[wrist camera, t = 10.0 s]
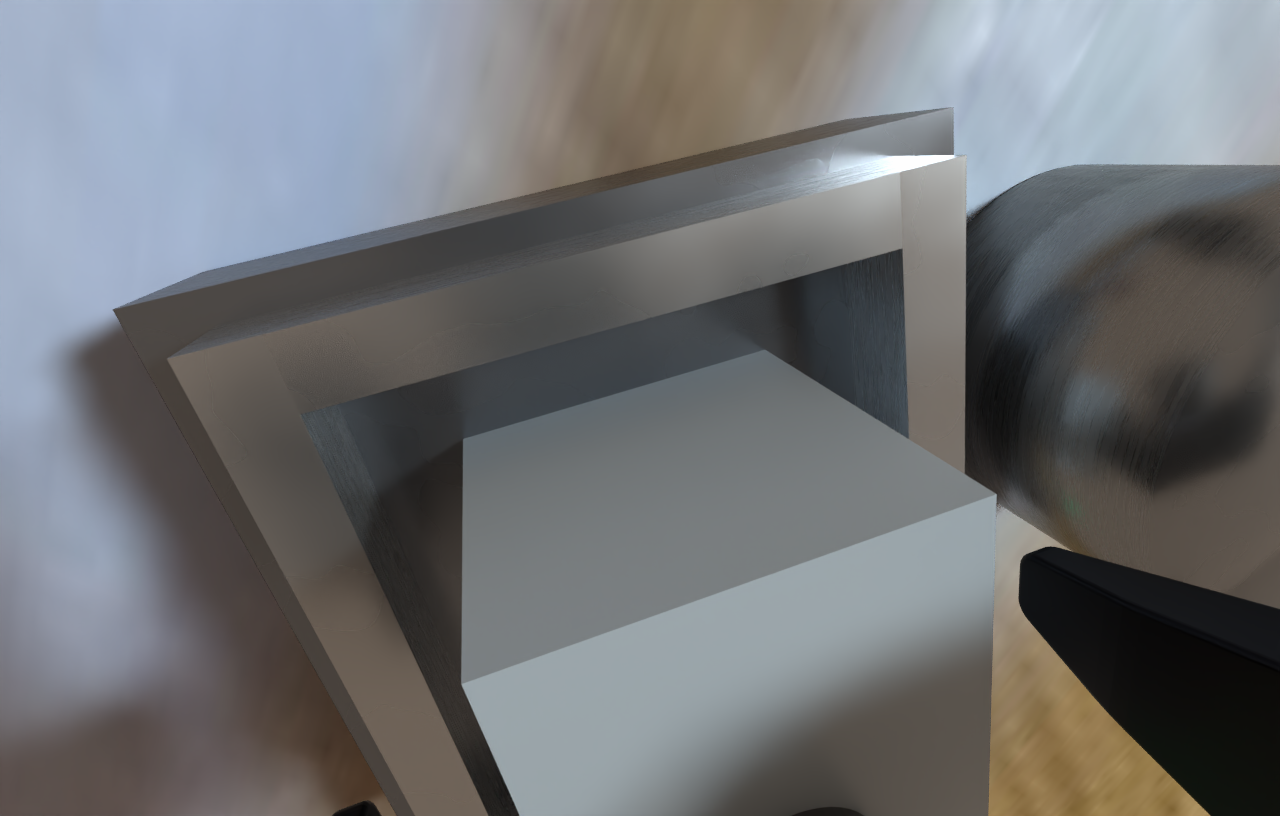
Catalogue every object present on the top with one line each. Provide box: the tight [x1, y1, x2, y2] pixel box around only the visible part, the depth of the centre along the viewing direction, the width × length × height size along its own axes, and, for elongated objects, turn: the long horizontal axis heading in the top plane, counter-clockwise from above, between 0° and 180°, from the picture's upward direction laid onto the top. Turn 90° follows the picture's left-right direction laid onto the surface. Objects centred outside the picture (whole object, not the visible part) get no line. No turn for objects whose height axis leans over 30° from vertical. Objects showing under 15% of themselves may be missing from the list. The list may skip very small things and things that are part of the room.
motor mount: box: [113, 107, 1280, 816], centre depth 12 cm, size 21×12×6 cm, turn 102°
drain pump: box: [461, 350, 997, 816], centre depth 8 cm, size 5×6×6 cm
